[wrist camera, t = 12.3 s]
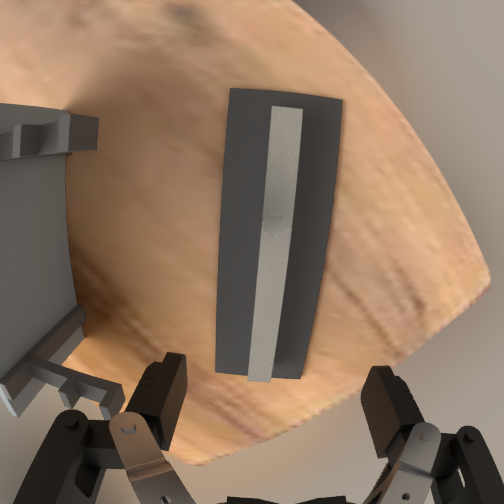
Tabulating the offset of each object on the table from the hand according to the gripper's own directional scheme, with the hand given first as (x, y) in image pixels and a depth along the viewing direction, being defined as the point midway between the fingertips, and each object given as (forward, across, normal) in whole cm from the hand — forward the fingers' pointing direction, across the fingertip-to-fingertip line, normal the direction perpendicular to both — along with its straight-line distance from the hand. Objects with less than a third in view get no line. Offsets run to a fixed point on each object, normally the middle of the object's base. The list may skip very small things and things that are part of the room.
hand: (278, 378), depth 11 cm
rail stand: (+17, +18, 0) cm, 25 cm away
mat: (+17, 0, 0) cm, 17 cm away
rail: (+17, 0, 0) cm, 17 cm away
